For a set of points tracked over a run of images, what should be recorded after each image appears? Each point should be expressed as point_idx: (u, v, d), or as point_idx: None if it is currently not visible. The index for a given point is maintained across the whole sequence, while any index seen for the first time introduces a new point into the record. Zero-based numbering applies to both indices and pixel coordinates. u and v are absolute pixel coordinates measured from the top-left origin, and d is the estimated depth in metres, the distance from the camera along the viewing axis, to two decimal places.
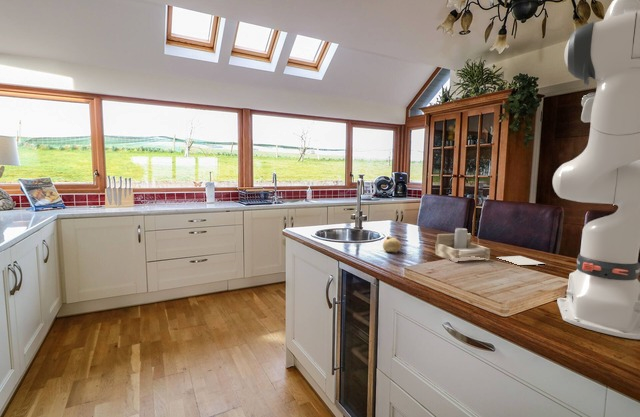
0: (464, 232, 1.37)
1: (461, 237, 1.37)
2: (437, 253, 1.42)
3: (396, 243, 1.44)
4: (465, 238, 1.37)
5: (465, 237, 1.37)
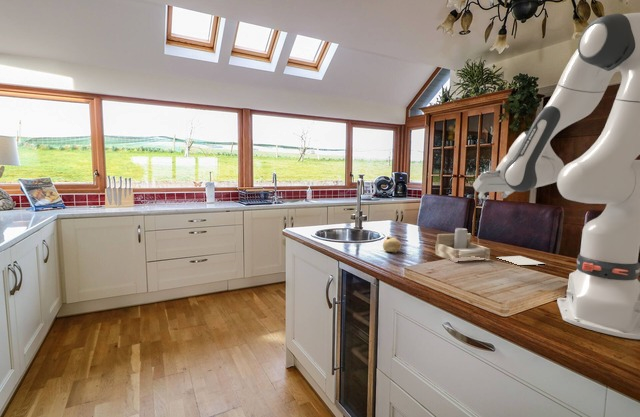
0: (464, 232, 1.37)
1: (461, 237, 1.37)
2: (437, 253, 1.42)
3: (396, 243, 1.44)
4: (465, 238, 1.37)
5: (465, 237, 1.37)
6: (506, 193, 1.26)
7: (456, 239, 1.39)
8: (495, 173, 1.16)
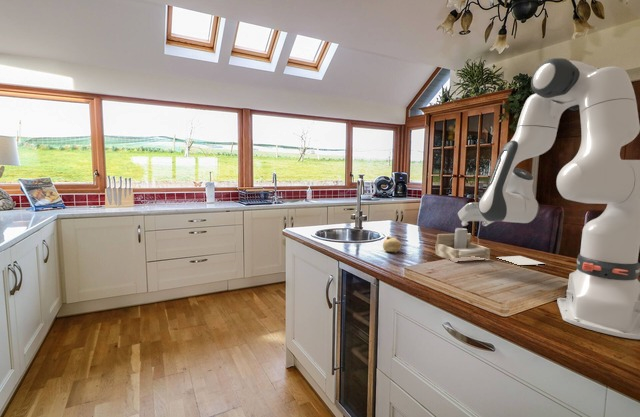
0: (464, 232, 1.37)
1: (461, 237, 1.37)
2: (437, 253, 1.42)
3: (396, 243, 1.44)
4: (465, 238, 1.37)
5: (465, 237, 1.37)
6: (487, 222, 1.31)
7: (456, 239, 1.39)
8: None
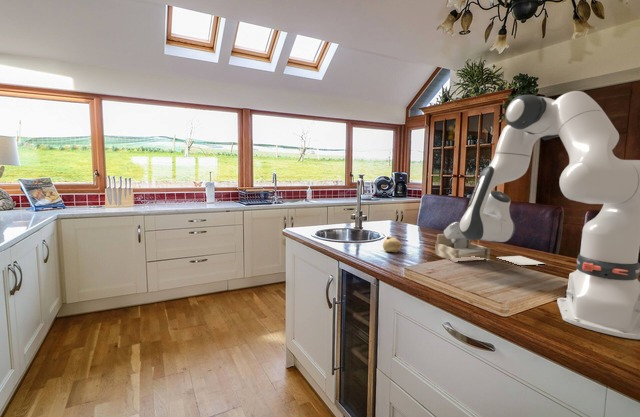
0: None
1: None
2: (437, 253, 1.42)
3: (396, 243, 1.44)
4: (465, 238, 1.37)
5: None
6: (469, 238, 1.39)
7: None
8: None
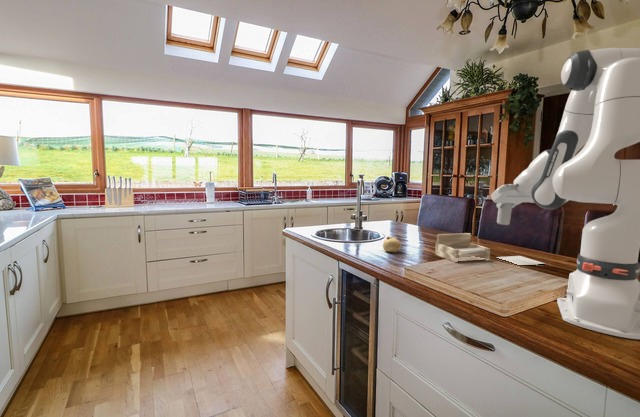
0: None
1: (506, 203, 1.32)
2: (437, 253, 1.42)
3: (396, 243, 1.44)
4: (511, 204, 1.33)
5: (511, 203, 1.32)
6: (514, 203, 1.34)
7: None
8: (514, 186, 1.24)
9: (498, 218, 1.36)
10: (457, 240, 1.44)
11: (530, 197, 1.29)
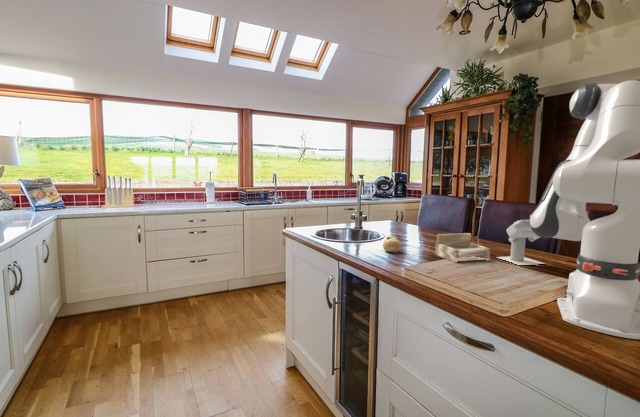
0: None
1: (519, 239, 1.30)
2: (437, 253, 1.42)
3: (396, 243, 1.44)
4: (524, 241, 1.31)
5: (524, 239, 1.30)
6: (534, 237, 1.33)
7: (514, 242, 1.32)
8: None
9: (511, 254, 1.33)
10: (457, 240, 1.44)
11: None
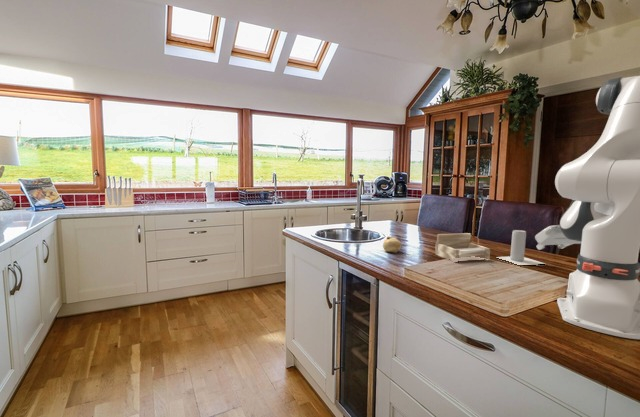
0: (523, 234, 1.30)
1: (519, 239, 1.30)
2: (437, 253, 1.42)
3: (396, 243, 1.44)
4: (524, 241, 1.31)
5: (524, 239, 1.30)
6: (564, 244, 1.20)
7: (514, 242, 1.32)
8: None
9: (511, 254, 1.33)
10: (457, 240, 1.44)
11: None
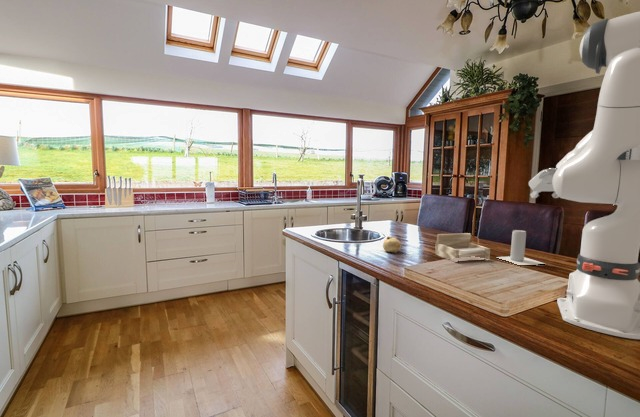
0: (523, 234, 1.30)
1: (519, 239, 1.30)
2: (437, 253, 1.42)
3: (396, 243, 1.44)
4: (524, 241, 1.31)
5: (524, 239, 1.30)
6: None
7: (514, 242, 1.32)
8: None
9: (511, 254, 1.33)
10: (457, 240, 1.44)
11: None
